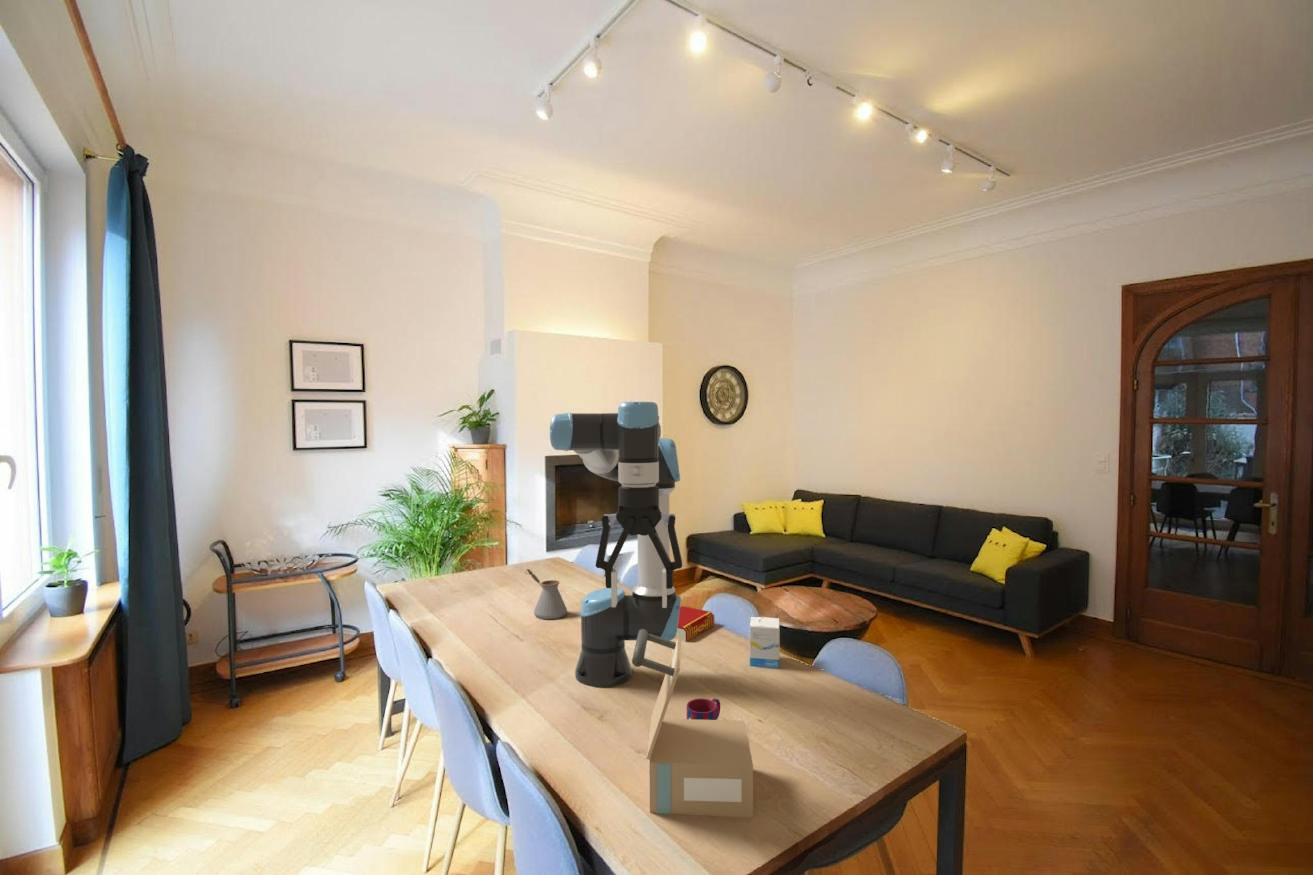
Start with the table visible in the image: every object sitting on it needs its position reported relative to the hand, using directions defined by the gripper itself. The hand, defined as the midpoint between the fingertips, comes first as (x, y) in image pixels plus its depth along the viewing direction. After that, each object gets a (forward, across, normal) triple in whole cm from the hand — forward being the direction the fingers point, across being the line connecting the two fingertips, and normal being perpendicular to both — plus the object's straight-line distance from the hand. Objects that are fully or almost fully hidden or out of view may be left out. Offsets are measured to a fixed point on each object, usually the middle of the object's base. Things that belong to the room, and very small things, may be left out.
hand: (639, 605), depth 109 cm
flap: (+25, +2, 0) cm, 25 cm away
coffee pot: (+36, -43, +97) cm, 112 cm away
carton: (+35, +11, 0) cm, 37 cm away
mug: (+36, +13, +21) cm, 43 cm away
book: (+36, +8, +84) cm, 92 cm away
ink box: (+36, +31, +60) cm, 76 cm away
